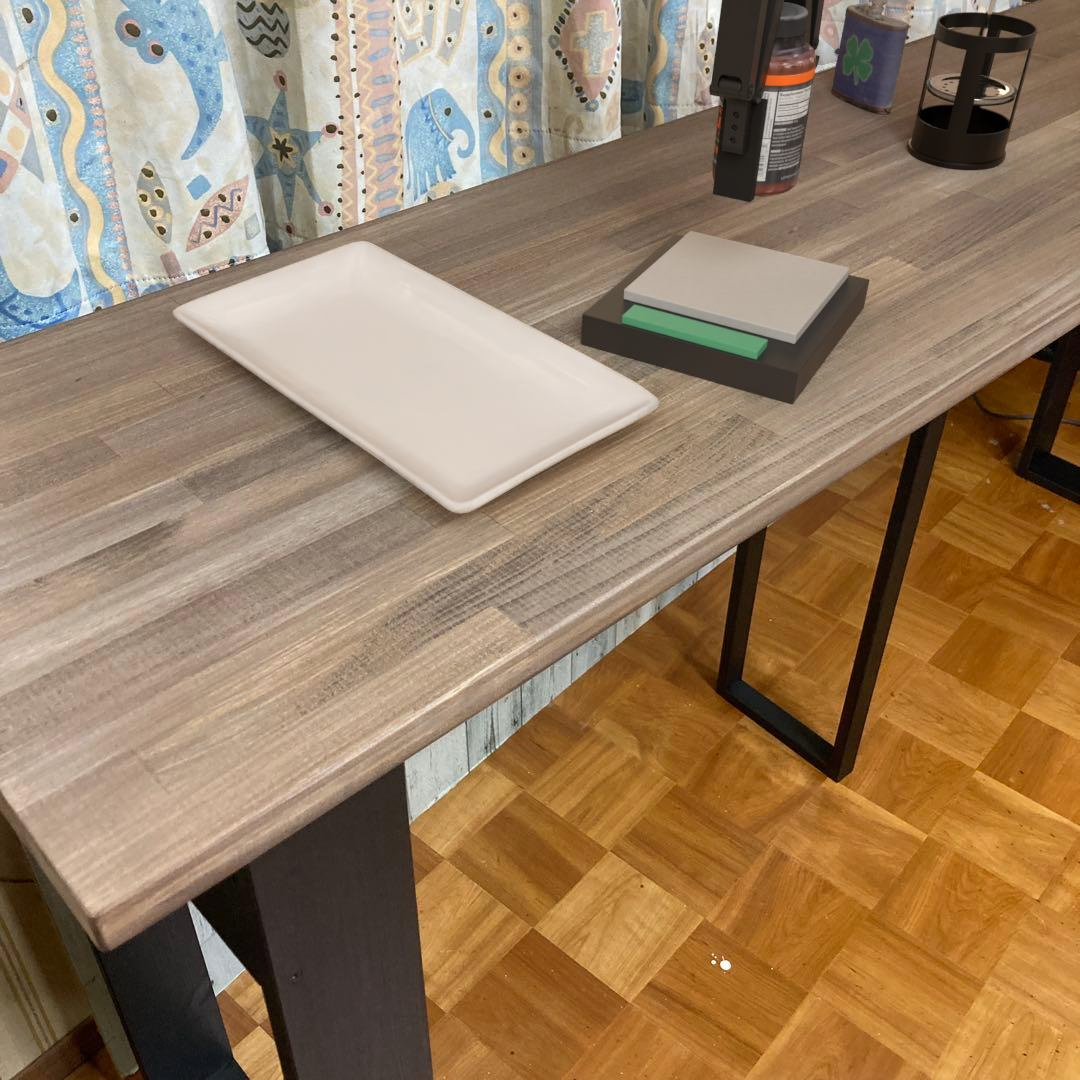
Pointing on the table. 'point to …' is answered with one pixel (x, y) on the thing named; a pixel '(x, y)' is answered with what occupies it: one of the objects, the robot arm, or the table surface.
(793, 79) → the supplement bottle
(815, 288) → the scale
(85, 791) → the table surface
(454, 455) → the tray
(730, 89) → the robot arm
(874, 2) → the flask
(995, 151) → the french press
